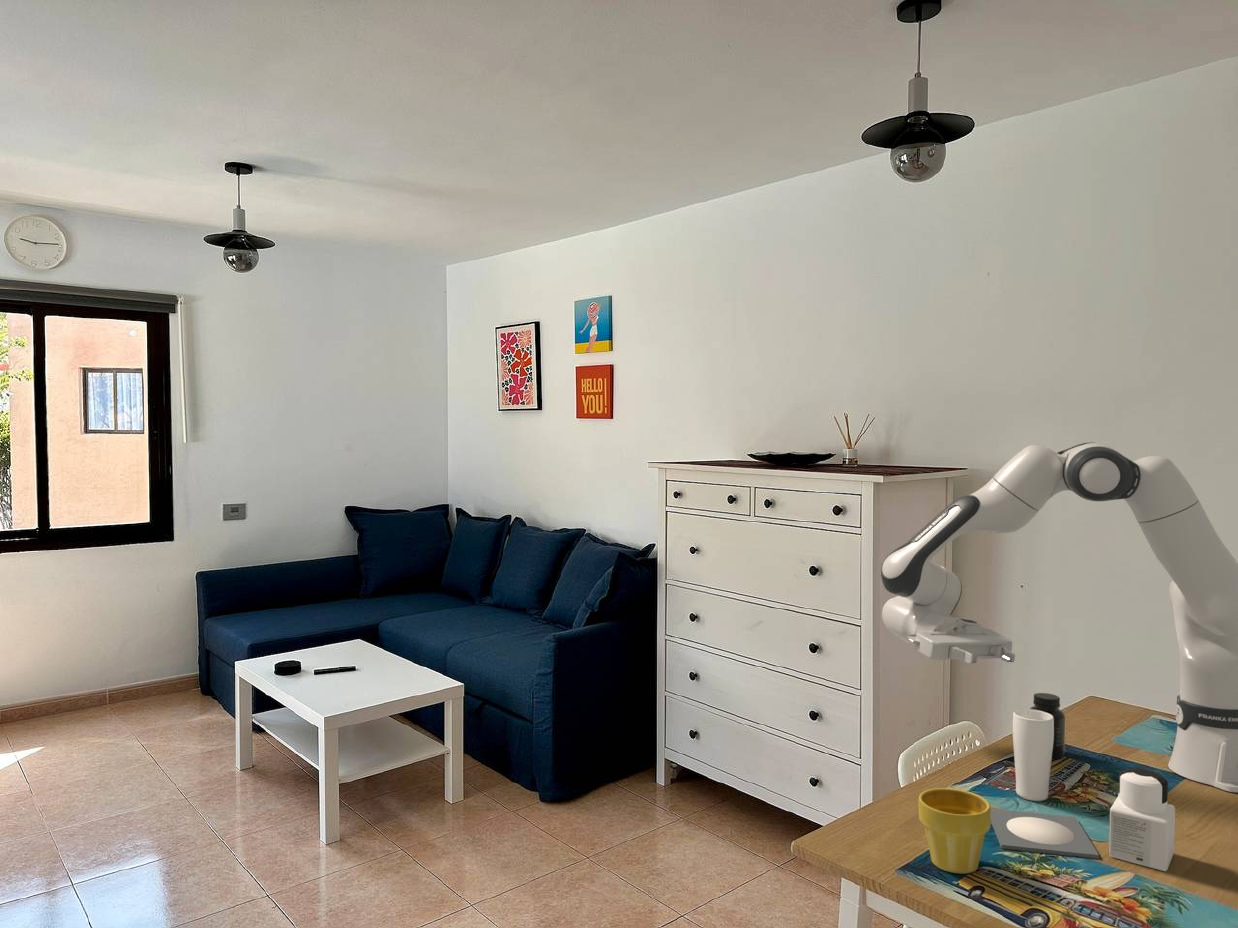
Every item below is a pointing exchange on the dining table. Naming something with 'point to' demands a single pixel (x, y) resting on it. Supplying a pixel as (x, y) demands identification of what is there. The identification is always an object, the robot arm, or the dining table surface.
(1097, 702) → the dining table surface
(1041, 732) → the drinking glass
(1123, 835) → the container
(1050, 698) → the supplement bottle
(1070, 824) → the mat
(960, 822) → the plant pot
